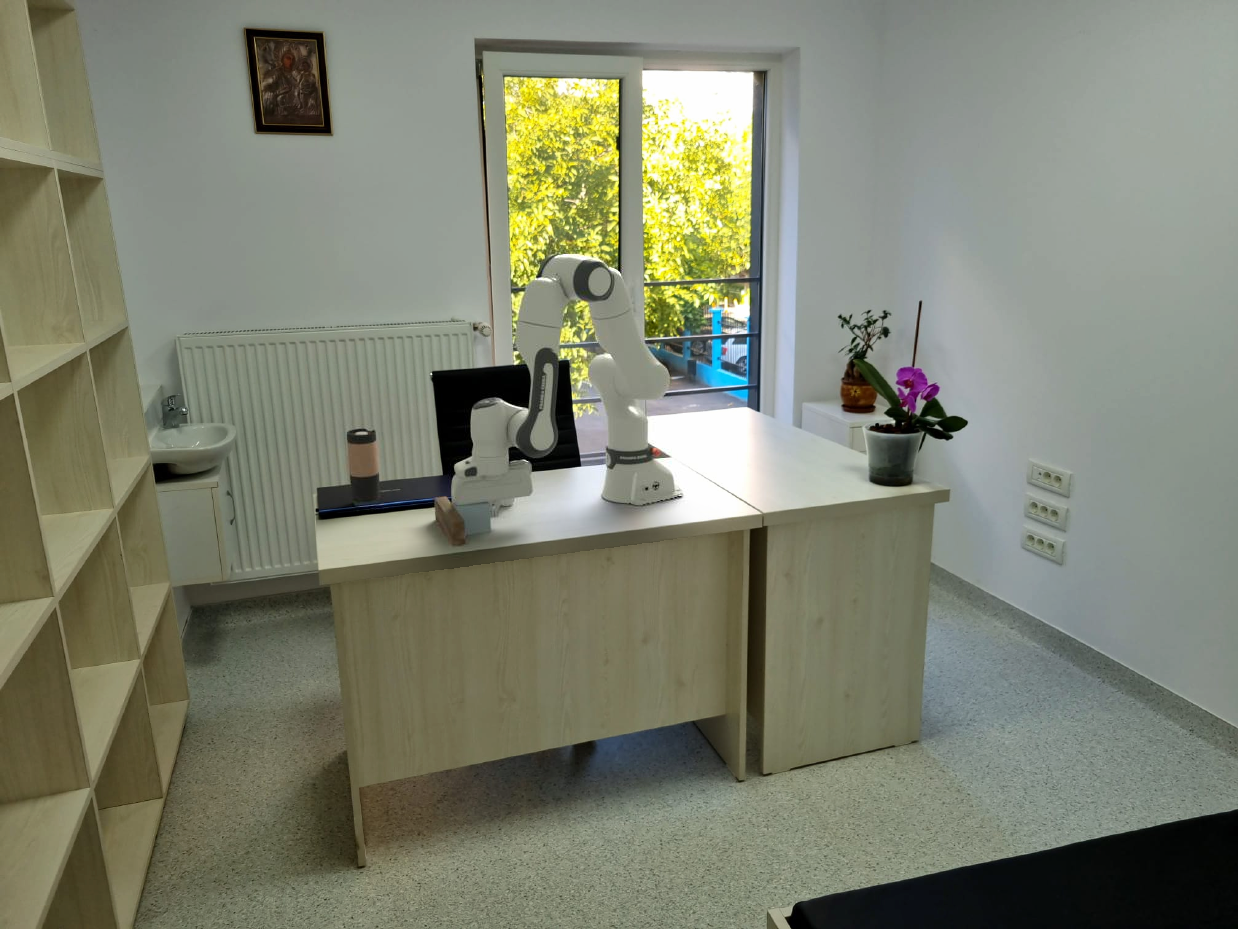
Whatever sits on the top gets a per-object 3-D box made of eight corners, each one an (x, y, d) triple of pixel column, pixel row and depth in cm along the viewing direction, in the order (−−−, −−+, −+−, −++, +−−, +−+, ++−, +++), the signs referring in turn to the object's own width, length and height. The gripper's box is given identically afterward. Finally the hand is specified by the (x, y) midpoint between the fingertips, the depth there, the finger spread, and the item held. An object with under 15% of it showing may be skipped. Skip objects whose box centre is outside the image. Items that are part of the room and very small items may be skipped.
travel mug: (353, 509, 249) (347, 436, 243) (350, 501, 256) (344, 429, 250) (383, 506, 252) (378, 433, 246) (378, 497, 258) (373, 427, 253)
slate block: (483, 522, 240) (482, 496, 238) (491, 531, 233) (490, 504, 231) (452, 526, 237) (451, 500, 235) (459, 535, 230) (458, 508, 228)
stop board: (447, 518, 242) (446, 496, 241) (465, 544, 225) (464, 520, 223) (435, 519, 241) (434, 497, 240) (453, 546, 224) (452, 522, 222)
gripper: (527, 455, 239) (529, 507, 243) (447, 465, 232) (451, 518, 235) (534, 462, 233) (537, 514, 237) (453, 472, 226) (457, 526, 230)
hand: (493, 516), depth 236 cm, fingers closed
